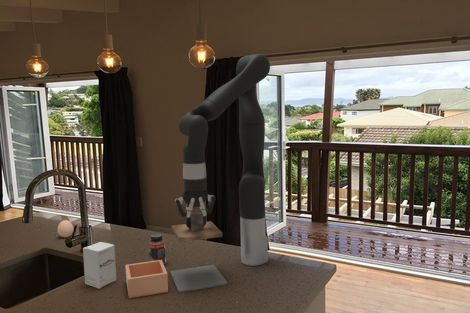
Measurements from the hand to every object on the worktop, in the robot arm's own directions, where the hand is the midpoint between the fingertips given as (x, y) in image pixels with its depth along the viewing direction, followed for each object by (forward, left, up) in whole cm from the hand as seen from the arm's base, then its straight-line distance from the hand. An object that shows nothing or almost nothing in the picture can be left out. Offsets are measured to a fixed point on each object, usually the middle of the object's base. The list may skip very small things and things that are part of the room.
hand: (196, 226), depth 131 cm
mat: (0, 0, -18) cm, 18 cm away
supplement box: (+31, -9, -18) cm, 37 cm away
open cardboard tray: (+17, 0, -18) cm, 25 cm away
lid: (0, 0, -2) cm, 2 cm away
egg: (+46, -65, -18) cm, 82 cm away
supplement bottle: (+11, -17, -18) cm, 27 cm away
